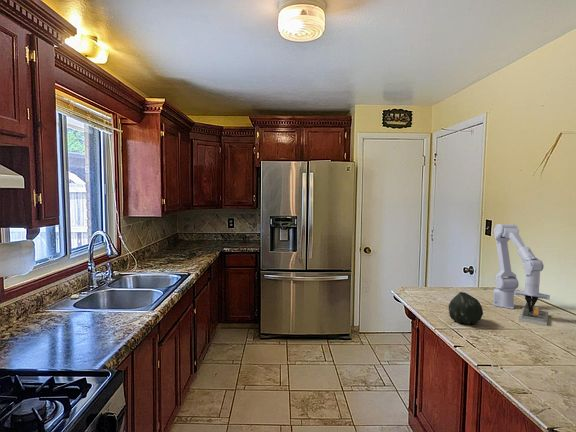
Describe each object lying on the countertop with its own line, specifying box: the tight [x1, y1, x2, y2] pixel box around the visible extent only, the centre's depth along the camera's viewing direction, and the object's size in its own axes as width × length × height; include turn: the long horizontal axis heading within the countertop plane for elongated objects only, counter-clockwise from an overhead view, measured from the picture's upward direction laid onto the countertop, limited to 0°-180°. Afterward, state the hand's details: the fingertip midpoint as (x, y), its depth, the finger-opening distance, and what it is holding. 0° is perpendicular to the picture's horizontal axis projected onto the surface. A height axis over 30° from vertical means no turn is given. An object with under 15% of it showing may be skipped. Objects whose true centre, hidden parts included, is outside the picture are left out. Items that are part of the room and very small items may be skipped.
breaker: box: [523, 307, 529, 316], centre depth 179 cm, size 2×2×3 cm
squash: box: [447, 291, 484, 325], centre depth 175 cm, size 14×15×15 cm
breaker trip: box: [533, 306, 540, 315], centre depth 181 cm, size 2×2×4 cm
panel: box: [518, 307, 549, 327], centre depth 182 cm, size 11×19×2 cm, turn 143°
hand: (530, 311), depth 182 cm, fingers closed
